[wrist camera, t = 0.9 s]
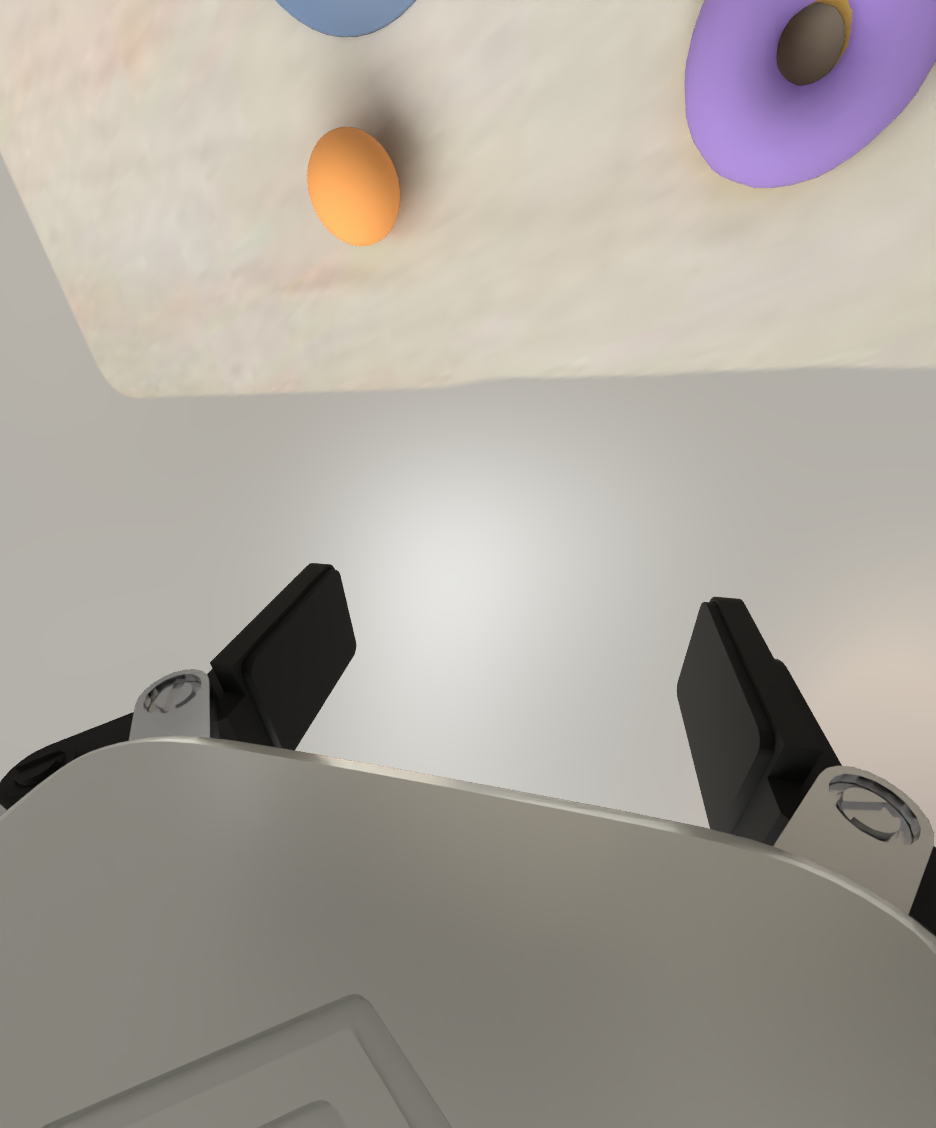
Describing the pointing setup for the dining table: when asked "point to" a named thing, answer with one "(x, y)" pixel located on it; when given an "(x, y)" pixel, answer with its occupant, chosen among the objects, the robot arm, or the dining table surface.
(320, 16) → the disc
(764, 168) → the donut
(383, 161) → the ball
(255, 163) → the dining table surface
